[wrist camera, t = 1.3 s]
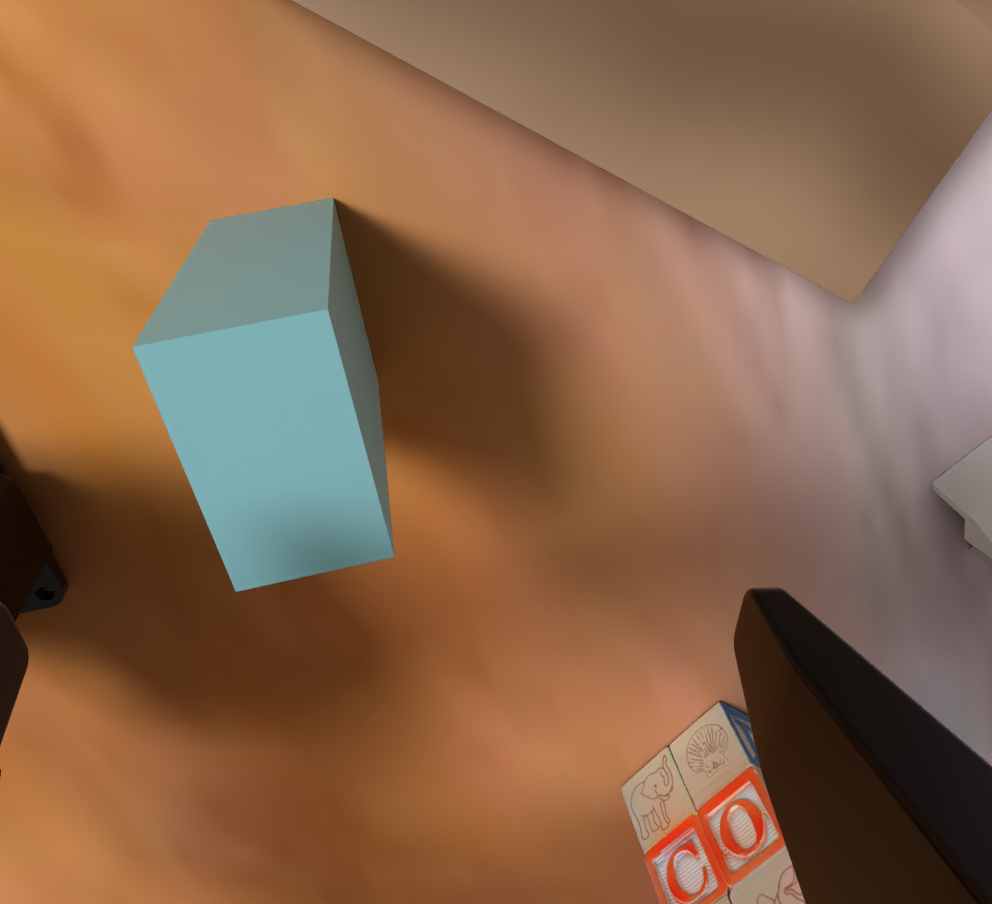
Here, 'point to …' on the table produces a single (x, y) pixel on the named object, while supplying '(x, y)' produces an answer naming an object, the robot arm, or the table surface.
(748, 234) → the socket block
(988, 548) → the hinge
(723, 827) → the stack of blocks
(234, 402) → the keyed peg
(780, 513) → the table surface
